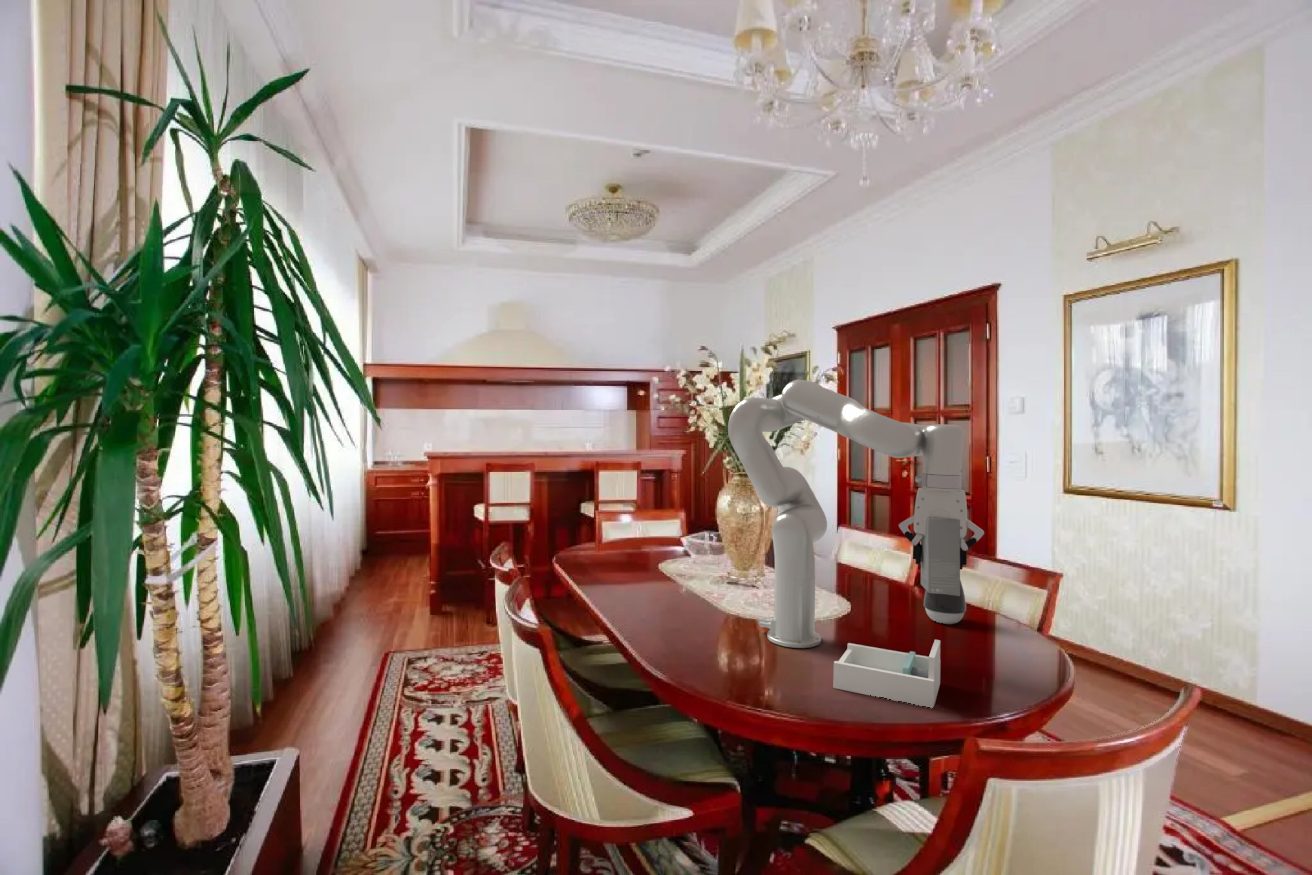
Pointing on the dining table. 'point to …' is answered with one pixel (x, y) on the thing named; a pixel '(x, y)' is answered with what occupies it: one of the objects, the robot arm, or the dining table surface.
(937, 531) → the skincare box
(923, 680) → the open box with divider
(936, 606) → the dark grey egg shape
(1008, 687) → the dining table surface
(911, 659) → the pusher
